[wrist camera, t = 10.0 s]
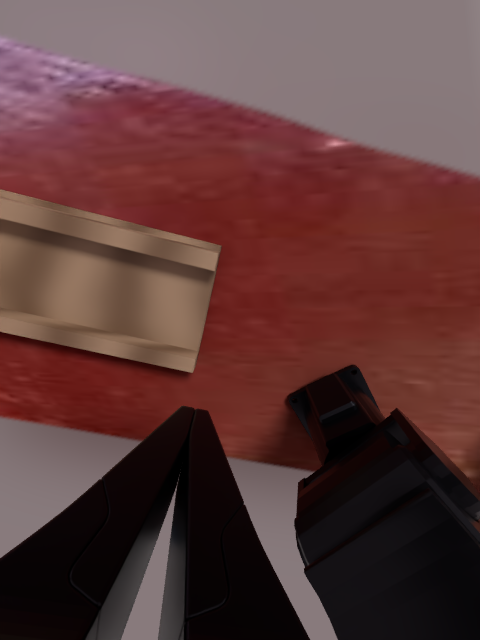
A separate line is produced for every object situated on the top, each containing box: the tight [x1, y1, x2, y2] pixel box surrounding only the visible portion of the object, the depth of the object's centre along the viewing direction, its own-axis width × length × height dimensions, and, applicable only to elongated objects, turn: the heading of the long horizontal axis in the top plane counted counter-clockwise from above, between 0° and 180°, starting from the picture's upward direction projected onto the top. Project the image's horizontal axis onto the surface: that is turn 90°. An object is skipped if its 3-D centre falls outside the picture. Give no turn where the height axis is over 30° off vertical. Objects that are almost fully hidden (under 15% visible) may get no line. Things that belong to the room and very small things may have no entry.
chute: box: [0, 189, 222, 373], centre depth 19 cm, size 25×10×2 cm, turn 76°
